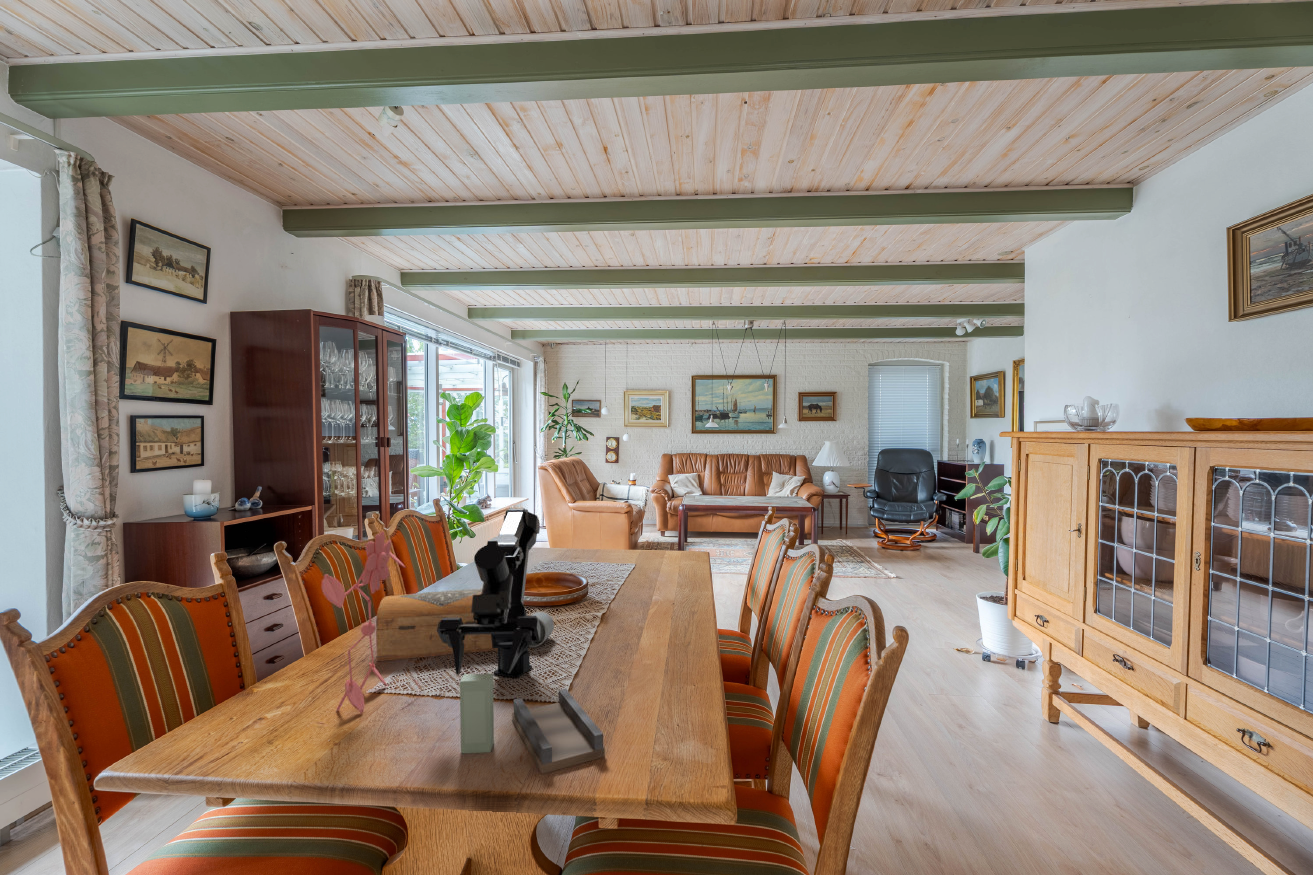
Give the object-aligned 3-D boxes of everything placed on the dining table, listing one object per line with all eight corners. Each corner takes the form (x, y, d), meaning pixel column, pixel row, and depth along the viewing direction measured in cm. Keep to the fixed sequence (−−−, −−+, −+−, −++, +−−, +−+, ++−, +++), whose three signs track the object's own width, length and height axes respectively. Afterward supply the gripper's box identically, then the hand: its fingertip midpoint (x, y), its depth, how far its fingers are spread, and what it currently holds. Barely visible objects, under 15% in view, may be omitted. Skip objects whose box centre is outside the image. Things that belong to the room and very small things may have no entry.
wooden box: (504, 630, 167) (504, 580, 166) (503, 651, 150) (502, 596, 150) (390, 639, 160) (389, 588, 160) (375, 662, 144) (374, 605, 144)
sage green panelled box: (465, 743, 106) (464, 674, 106) (493, 742, 106) (493, 673, 106) (460, 753, 103) (459, 681, 102) (490, 752, 103) (489, 680, 103)
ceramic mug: (555, 636, 160) (555, 608, 160) (546, 647, 152) (545, 618, 152) (518, 636, 161) (517, 608, 161) (506, 647, 153) (506, 617, 153)
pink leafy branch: (308, 731, 110) (309, 543, 110) (373, 674, 136) (374, 522, 136) (390, 732, 110) (392, 545, 110) (440, 675, 136) (442, 523, 136)
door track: (512, 720, 114) (512, 699, 114) (567, 707, 119) (567, 688, 119) (541, 773, 96) (541, 749, 96) (604, 756, 101) (604, 733, 101)
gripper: (439, 576, 113) (420, 655, 102) (537, 574, 114) (529, 652, 103) (451, 605, 121) (435, 681, 110) (543, 603, 122) (536, 678, 111)
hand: (483, 673), depth 109 cm, fingers open, 9 cm apart
